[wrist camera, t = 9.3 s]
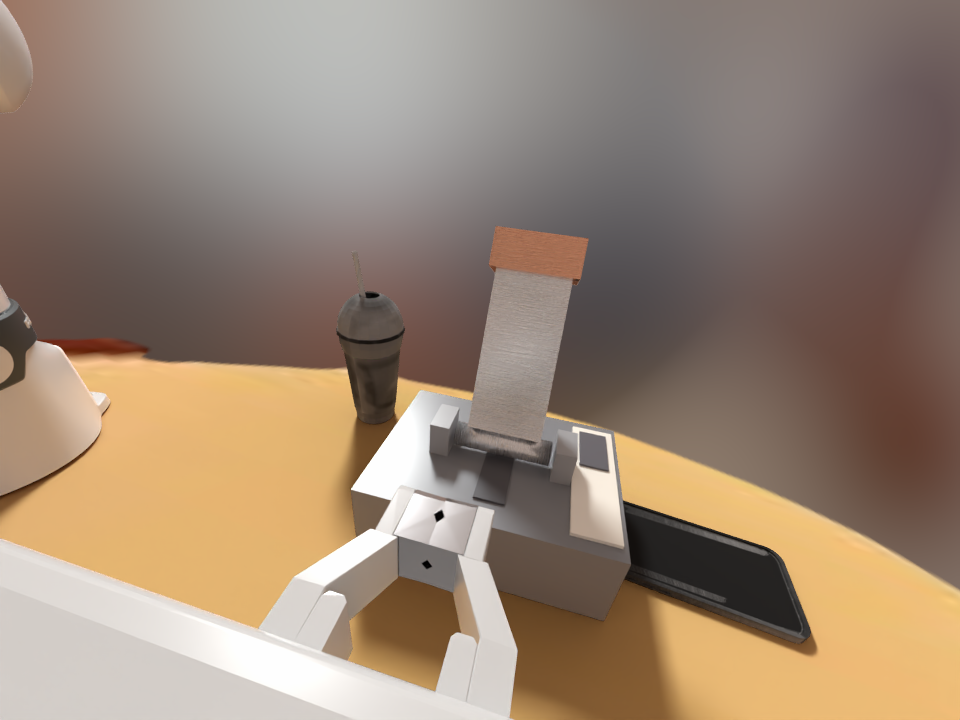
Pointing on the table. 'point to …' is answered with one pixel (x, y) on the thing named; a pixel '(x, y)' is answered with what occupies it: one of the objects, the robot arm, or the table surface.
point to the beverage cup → (371, 350)
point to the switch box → (515, 502)
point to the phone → (713, 572)
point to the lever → (521, 342)
